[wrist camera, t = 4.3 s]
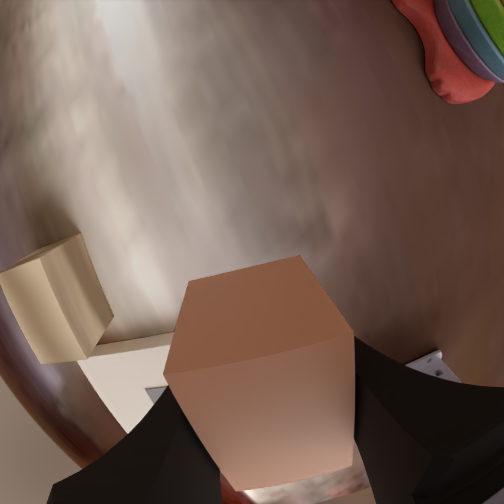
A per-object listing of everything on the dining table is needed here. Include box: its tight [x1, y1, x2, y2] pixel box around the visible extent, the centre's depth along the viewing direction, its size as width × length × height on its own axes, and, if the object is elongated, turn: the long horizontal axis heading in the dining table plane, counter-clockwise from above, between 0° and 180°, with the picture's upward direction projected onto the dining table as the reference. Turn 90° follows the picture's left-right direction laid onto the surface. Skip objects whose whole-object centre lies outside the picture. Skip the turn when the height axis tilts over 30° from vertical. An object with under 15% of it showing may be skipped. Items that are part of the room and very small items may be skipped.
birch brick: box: [0, 233, 114, 364], centre depth 15 cm, size 4×6×5 cm, turn 13°
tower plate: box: [77, 332, 174, 433], centre depth 20 cm, size 14×14×2 cm
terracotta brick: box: [163, 255, 355, 491], centre depth 9 cm, size 4×6×5 cm, turn 13°
